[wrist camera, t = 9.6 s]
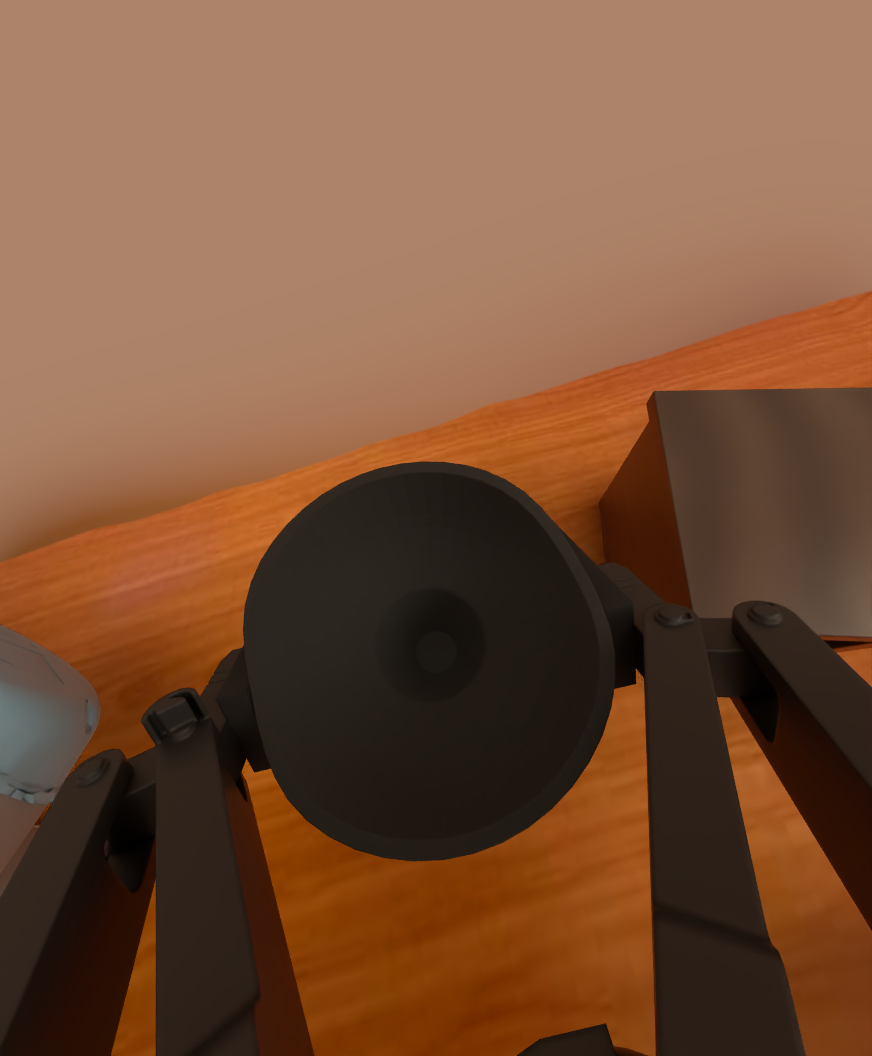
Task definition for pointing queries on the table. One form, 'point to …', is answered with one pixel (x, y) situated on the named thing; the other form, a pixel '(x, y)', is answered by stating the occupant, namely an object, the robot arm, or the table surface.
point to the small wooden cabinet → (752, 505)
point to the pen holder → (426, 661)
